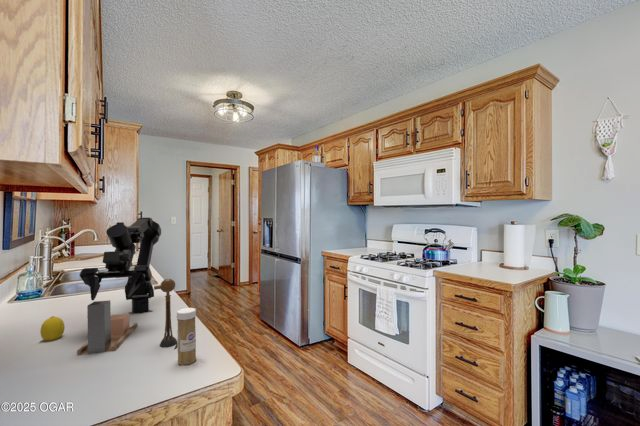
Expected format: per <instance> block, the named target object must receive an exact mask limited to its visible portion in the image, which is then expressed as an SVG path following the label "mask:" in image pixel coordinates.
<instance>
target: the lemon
mask: <svg viewBox="0 0 640 426" xmlns="http://www.w3.org/2000/svg"><path fill="white" fill-rule="evenodd" d="M64 332H65V322H64V320H63V319H62V318H60V317H57V316H55V315H51V316H50V317H49V318H47V319H45V320H44V321H43V323H42V324H41V326H40V336H41V338H42V340H43V341H46V342H51V341H56V340H59V339H60V338H61V337H62V336H63V334H64Z"/></svg>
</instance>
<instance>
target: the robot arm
mask: <svg viewBox="0 0 640 426" xmlns="http://www.w3.org/2000/svg"><path fill="white" fill-rule="evenodd" d="M106 236H107V237H108V239H109V243H110V244H111V246H112V247H113V248H115V249H114V251H104V252H103V257H102V263H103V264H105V265H104V267H105V269H106V270H107V271H100V270H99V269H98V267H87V268H86V267H84V268H82V269H81V270H80V273H79V277H80V279H81V280H82V281H83V284H84V285H85V286H88V287H89V289H90V299H91V301H93V302H94V301H95V299H96V297H97V296H98V292H99V290H100V288H101V284H100V283H102V279H113V278H115V279H120V278H121V279H122V278H127V282H126V284H125V286H124V294H125V300H126V301H129V300H131V311H130V312H128V313H127V314H129V315H132V314H143V313H152V312H153V310H151V309H149V307H150V306H149V305H150V304H149V301H150V300H149V299H152V298H154V297H155V290H154V285H152V284H153V283H152V276H153V275H152V271H151V268H150V267H151V265H150V264H151V260H152V255H153V249H154V246H155V244H157V243H158V242H159V241H160V240H159V239H160V236H162V228H161V226H160V224H159V223H157V221H154V220H153V218H152V217H139V218H136V221H135V222H133V223H132V224H131V225H129V226H126V225H125V223H124V222H123V221H122V222H119V221H118V222H116V224H114V225H112V226H110V227H108V228H107V229H106ZM139 243H140V248H139V252H138V256H137V261H136V265H135V266H134V267H133V259H134V255H136V254H137V253H136V252H137V251H136V248H137V246H136V244H139ZM131 267H133V270H130V269H131Z"/></svg>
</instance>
